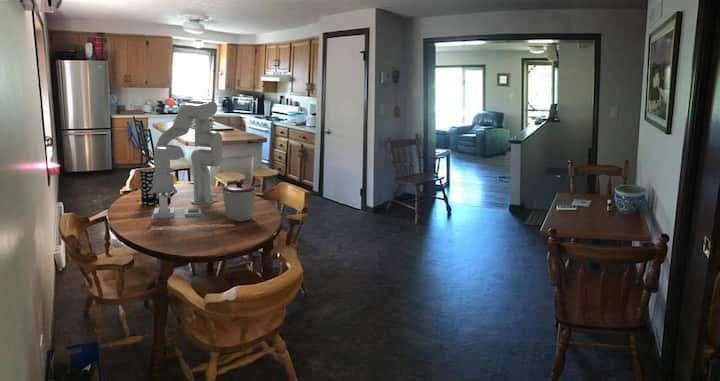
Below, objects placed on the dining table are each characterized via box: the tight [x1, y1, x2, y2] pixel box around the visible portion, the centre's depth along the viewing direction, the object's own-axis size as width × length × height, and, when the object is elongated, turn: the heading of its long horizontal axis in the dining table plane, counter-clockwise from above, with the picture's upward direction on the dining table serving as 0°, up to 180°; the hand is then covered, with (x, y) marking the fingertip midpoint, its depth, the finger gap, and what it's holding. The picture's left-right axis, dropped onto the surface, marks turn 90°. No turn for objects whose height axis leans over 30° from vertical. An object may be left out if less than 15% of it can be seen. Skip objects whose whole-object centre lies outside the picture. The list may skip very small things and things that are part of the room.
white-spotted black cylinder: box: [139, 168, 158, 208], centre depth 301 cm, size 8×8×20 cm
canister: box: [221, 180, 258, 223], centre depth 280 cm, size 18×18×21 cm
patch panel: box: [150, 206, 205, 222], centre depth 281 cm, size 26×14×4 cm, turn 107°
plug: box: [158, 193, 169, 212], centre depth 278 cm, size 4×6×10 cm, turn 17°
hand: (163, 205), depth 278 cm, fingers closed on plug, 4 cm apart
